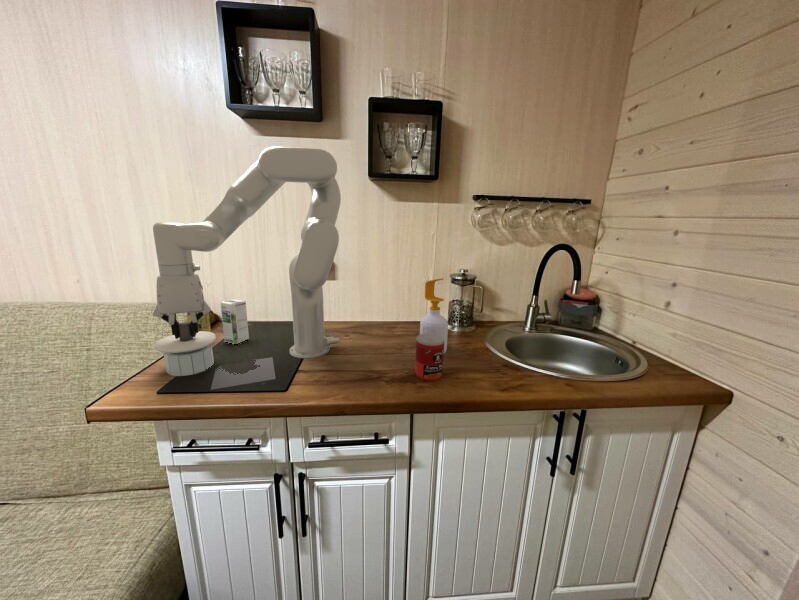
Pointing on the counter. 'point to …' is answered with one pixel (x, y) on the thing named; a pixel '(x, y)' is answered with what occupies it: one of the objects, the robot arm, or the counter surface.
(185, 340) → the lid
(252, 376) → the mat
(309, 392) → the counter surface
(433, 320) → the soap bottle
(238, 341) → the syrup box
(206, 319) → the sauce bottle
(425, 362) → the canned food
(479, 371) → the counter surface
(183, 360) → the bowl
